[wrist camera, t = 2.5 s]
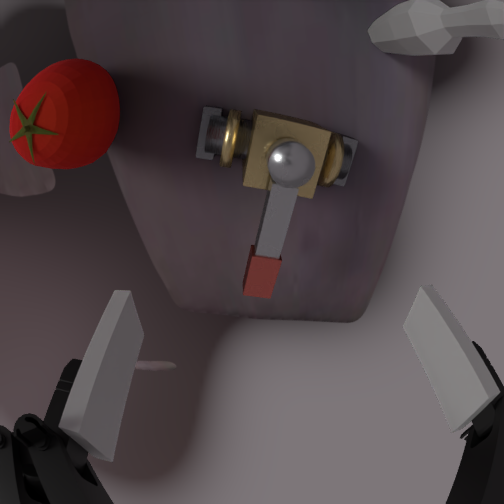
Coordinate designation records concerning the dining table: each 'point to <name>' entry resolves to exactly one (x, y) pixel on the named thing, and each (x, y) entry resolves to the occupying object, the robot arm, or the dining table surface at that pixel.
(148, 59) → the dining table surface
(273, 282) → the lever
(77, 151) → the tomato
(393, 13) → the faceted bottle
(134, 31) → the dining table surface
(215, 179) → the dining table surface
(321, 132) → the valve
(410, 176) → the dining table surface
